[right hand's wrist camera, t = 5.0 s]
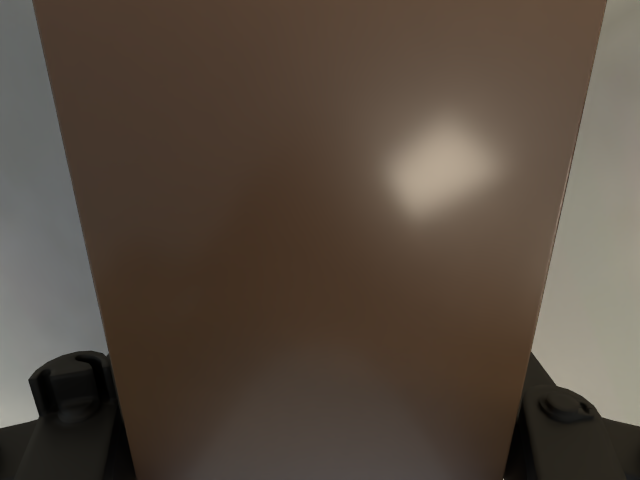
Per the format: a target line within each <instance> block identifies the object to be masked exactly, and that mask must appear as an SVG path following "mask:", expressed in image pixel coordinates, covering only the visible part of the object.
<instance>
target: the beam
mask: <svg viewBox="0 0 640 480" xmlns="http://www.w3.org/2000/svg"><path fill="white" fill-rule="evenodd" d="M32 2H33V6H34V11H35V15H36V20H37V25H38V29H39V34H40V38H41V43H42V48H43V52H44V57H45V61H46V66H47V71H48V75H49V80H50V84H51V89H52V94H53V98H54V103H55V107H56V112H57V117H58V121H59V126H60V130H61V135H62V139H63V144H64V149H65V153H66V158H67V162H68V167H69V172H70V176H71V181H72V185H73V190H74V195H75V199H76V204H77V208H78V213H79V218H80V222H81V227H82V231H83V236H84V241H85V245H86V250H87V254H88V259H89V264H90V268H91V273H92V277H93V282H94V287H95V291H96V296H97V300H98V305H99V309H100V314H101V319H102V323H103V328H104V332H105V337H106V342H107V346H108V351H109V355H110V360H111V365H112V369H113V374H114V378H115V383H116V388H117V392H118V397H119V401H120V406H121V411H122V415H123V420H124V424H125V429H126V434H127V438H128V443H129V447H130V452H131V457H132V461H133V466H134V470H135V475H136V479H137V480H503V477H504V473H505V468H506V463H507V459H508V454H509V449H510V445H511V440H512V436H513V431H514V426H515V422H516V417H517V413H518V408H519V403H520V399H521V394H522V390H523V385H524V380H525V376H526V371H527V367H528V362H529V357H530V353H531V348H532V344H533V339H534V334H535V330H536V325H537V321H538V316H539V311H540V307H541V302H542V298H543V293H544V288H545V284H546V279H547V274H548V270H549V265H550V261H551V256H552V251H553V247H554V242H555V238H556V233H557V228H558V224H559V219H560V215H561V210H562V205H563V201H564V196H565V192H566V187H567V182H568V178H569V173H570V169H571V164H572V159H573V155H574V150H575V146H576V141H577V136H578V132H579V127H580V122H581V118H582V113H583V109H584V104H585V99H586V95H587V90H588V86H589V81H590V76H591V72H592V67H593V63H594V58H595V53H596V49H597V44H598V40H599V35H600V30H601V26H602V21H603V17H604V12H605V7H606V3H607V0H32Z"/></svg>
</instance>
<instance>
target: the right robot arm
mask: <svg viewBox="0 0 640 480" xmlns="http://www.w3.org/2000/svg"><path fill="white" fill-rule="evenodd" d="M28 381H29V384H30V387H31V391H32V394H33V397H34V400H35V404H36V407H37V410H38V413H39V419H37V420H34V421H30V422H27V423H22V424H18V425H13V426H9V427H4V428H0V480H137V479H136V475H135V470H134V466H133V461H132V457H131V452H130V447H129V443H128V438H127V434H126V429H125V424H124V420H123V415H122V411H121V406H120V401H119V397H118V392H117V388H116V383H115V378H114V374H113V369H112V365H111V360H110V355H109V354H108V355H107V356H105V355H104V354H103V353H99V352H95V351H78V352H74V353H70V354H66V355H62V356H60V357H58V358H55V359H53V360H51V361H49V362H47V363H46V364H44V365H43V366H41V367H40V368H38V369H37V370H36V371H35V372H34V373H33V374H32V376H31V377H30V378H29V379H28ZM503 478H504V480H640V427H639V426H635V425H630V424H626V423H622V422H617V421H613V420H609V419H606V418H602V417H601V416H600V414H599V413H598V411H597V410H596V408H595V407H594V405H592V404H591V403H590V402H589V401H587V400H586V399H585V398H584V397H582V396H580V395H578V394H576V393H575V392H573V391H571V390H569V389H565V388H562V387H558V386H556V384H555V383H554V382H553V380H552V379H551V378H550V376H549V375H548V374H547V372H546V371H545V370H544V368H543V367H542V366H541V364H540V363H539V362H538V360H537V359H536V357H535V356H534V355H533V353H532V352H531V353H530V357H529V362H528V367H527V371H526V376H525V380H524V385H523V390H522V394H521V399H520V403H519V408H518V413H517V417H516V422H515V426H514V431H513V436H512V440H511V445H510V449H509V454H508V459H507V463H506V468H505V473H504V477H503Z"/></svg>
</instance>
